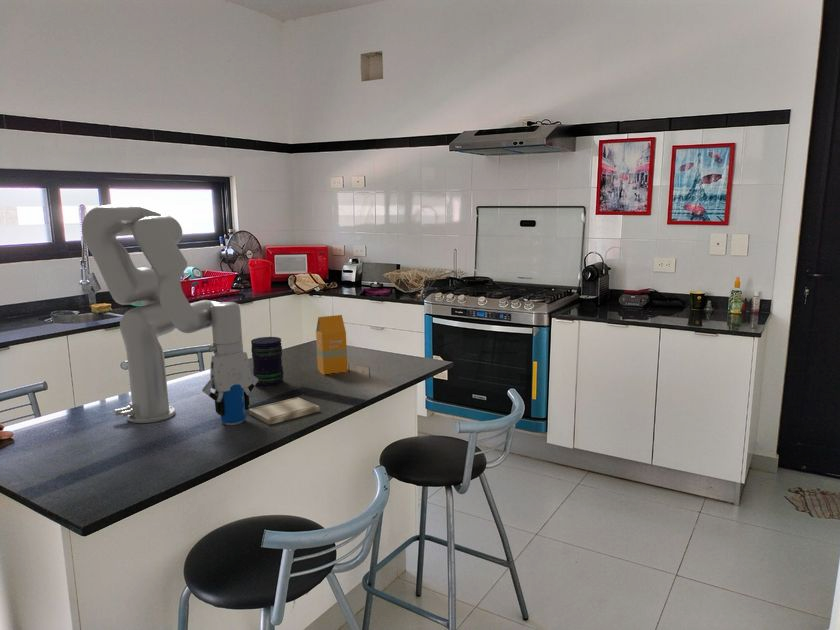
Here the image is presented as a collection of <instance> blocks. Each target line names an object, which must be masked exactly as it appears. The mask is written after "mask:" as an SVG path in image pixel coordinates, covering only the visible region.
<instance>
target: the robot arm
mask: <svg viewBox="0 0 840 630" xmlns="http://www.w3.org/2000/svg"><path fill="white" fill-rule="evenodd" d="M81 234H82V238H83V240H84V243H85V246H86V247H87V249H88V251H89V252H90V254H91V256H92V257H93V259H94V261H95V262H96V265H97V267H98V270H99V272H100V274H101V277H102V279H103V281H104V283H105V285H106V287H107V289H108V291H109V294H110V295H111V298H112V300H114V302H115V303H116V304H119V305H122V306H124V305H133V304H137V303H141V306H140V305H139V306H137V307H136V306H135V307H133V308H131V309H129V310H127V311H126V312H125V313H124V314H123V315H122V317H121V319H120V320H119V321H120V322H119V329H120V334H121V336H122V340H123V343H124V346H125V352H126V361H127V366H128V377H129V386H130V387H129V389H130V396H131V397H130V399H131V401H130V402H128V405H126V406H125V407H120V408H116V409H114V410H113V414H114V416H115V417H119V416H122V417H123V418H124V417H126V416H127V417H126V418H127V421H129V422H130V423H134V424H150V423H151V424H152V423H157V422H160V421H164V420H167V419H169V418H171V417H173V416H175V414H176V408H175V407H173V406H171V405H170V404H169V403H170V402H169V393H168V392H169V391H168V382H167V373H166V361H165V354H164V353H165V352H164V349H163V347H162V345H161V343H160V341H159V339H158V337H161V336H164V335H167V334H170V333H172V332H174V330H176V329H177V330H178V331H179V332H181V333H183V334H192V333H196V332H199V331H202V330H205V329H208V328H211V332H212V345H211V346H208V351H209V353H211V352H212V353H213V354H211V359H210V367H209V368H210V370H209V371H210V373H209V374H210V375H209V376H210V379H209V380H208V381H207V383H205V386H203V388H202V389H201V390H202V392H203V393H204V394H206V396H208V397H209V398H211V399H212V400H214V406H215V407H214V409H215V412H216V413H217V414H218V415H219V416H220V417H221V416H224V403H223V401H222V400H221V399H222V396H223V392H228V391H230V387H231V386H233V385H235V384H239V385H241V388H244V401H245V411H246V410H247V411H249V409H250V408H249V405H250V395H251V393H252V391H253V389H254V388H255V386H254V385H255V384H256V383H257V382H258V378H257V377H255V376H254V375H253V373H252V372H251V366H250V362H249V356H248V353H247V351H246V350H244V347H243V334H242V333H243V331H242V317H241V315H242V314H241V306H240V304H239V303H237V302H235V301H222V302H219V301H214V300H208V299H202V300H199V301H193V302H189V300H188V299H187V297H186V295H185V293H184V292H183V288H182V284H181V279H182V275H183V274H184V272H185V270H186V269H187V267H188V260H187V259H186V258H185V256H184V255H183V253H182V251H181V249H180V248H179V246H178V245H177V244H178V243H180V242H181V241H182V238H183V228H182V226H181V224H180V223H179V221H178V220H177V219H175V218H174V217H173V216H170V215H168V214H166V213H161V212H159V211H157V210H152V209H150V208H146V207H144V206H141V205H136V204H105V205H99V206H96V207H93V208H92V209H90V210H88V212H87V213H86V214H85V216H84V218H83V220H82V223H81ZM123 236H124V237H126V236H133V239H134V241H135V242H136V244H137V246H138V247H139V249H140V250H141V252H142V253H143V255H144V257H145V258H146V260H147V262H148V264H149V265H150V266H151V268H149V267H136V266H135V264H134V262H133V260H132V258H131V255H130V254H129V251H128V250H127V249H126V248H125V247H124V245H123V244H122V243H121V242H119V240H117V237H123ZM234 382H236V383H234ZM212 389H213V390H214V392H212V391H211V390H212Z"/></svg>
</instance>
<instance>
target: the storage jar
mask: <svg viewBox="0 0 840 630" xmlns="http://www.w3.org/2000/svg"><path fill="white" fill-rule="evenodd" d="M250 342H251V346H250V347H251V357H252V361H253V362H252V364H253V368H252V375H254V376H255V377H257V378H258V382H257V383H256V384H255V385H254V387H255V386H256V388H259V387H271V388H276V387H275V386H277V387H279V385H280V386H282V385H283V384H284V383H283V382H284V368H283V361H282V356H283V351H282V350H283V346H282V338H280V337H278V336H264V337H263V336H262V337H261V336H260V337H256V338H254V339H251V340H250ZM281 384H282V385H281Z"/></svg>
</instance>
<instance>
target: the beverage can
mask: <svg viewBox="0 0 840 630" xmlns="http://www.w3.org/2000/svg"><path fill="white" fill-rule="evenodd" d="M234 383H236V382H234ZM221 400H222V401H223V403H224V416H221V415H220V419H221V420H220V421H221V423H223V424H224V425H226V426H236V425H240V424H243V422H244V421H245V420H246V417H247V416H246V409H245V401H244V388H241V385H239V384H235V385H233V386H231V387H230V391H228V392H223V396H222V399H221Z"/></svg>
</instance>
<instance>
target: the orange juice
mask: <svg viewBox="0 0 840 630" xmlns="http://www.w3.org/2000/svg"><path fill="white" fill-rule="evenodd" d="M315 336H316V337H315V339H316V341H315V342H316V358H317V371H318V370H319V371H320V372H319V371H318V372H319V373H320V374H321V375H323V374H324V375H323V376H326V375H325V374H330V375H332V374H331V373H337V374H339V373H338V372H345V373H347V372H348V349H347V346H348V345H347V331H346V327H345V323H344V319H343V314H339V315H338V314H337V315H328V316H327V315H326V316H319V317H317V324H316V329H315ZM346 371H347V372H346Z"/></svg>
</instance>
